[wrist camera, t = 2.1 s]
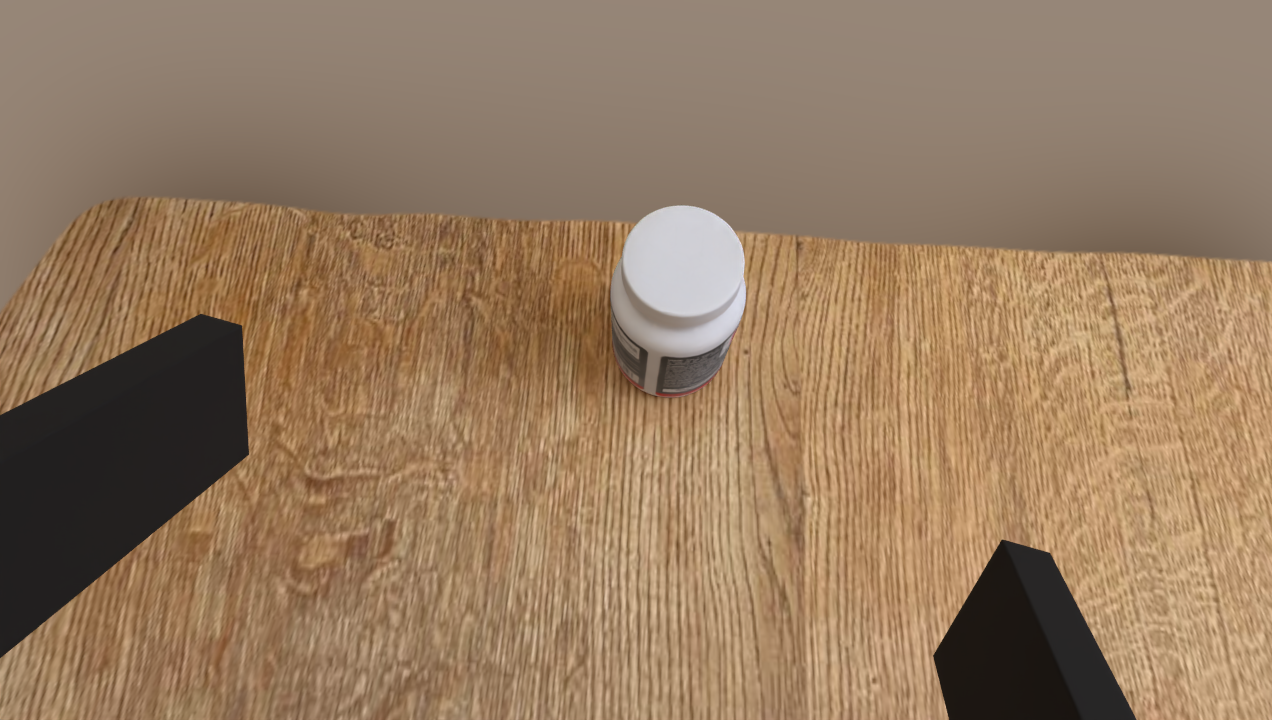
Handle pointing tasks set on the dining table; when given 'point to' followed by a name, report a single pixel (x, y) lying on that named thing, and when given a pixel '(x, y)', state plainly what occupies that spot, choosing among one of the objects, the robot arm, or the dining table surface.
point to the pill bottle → (676, 300)
